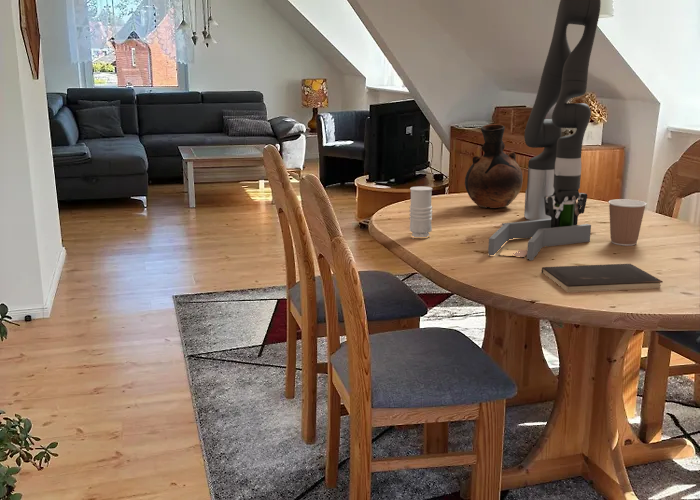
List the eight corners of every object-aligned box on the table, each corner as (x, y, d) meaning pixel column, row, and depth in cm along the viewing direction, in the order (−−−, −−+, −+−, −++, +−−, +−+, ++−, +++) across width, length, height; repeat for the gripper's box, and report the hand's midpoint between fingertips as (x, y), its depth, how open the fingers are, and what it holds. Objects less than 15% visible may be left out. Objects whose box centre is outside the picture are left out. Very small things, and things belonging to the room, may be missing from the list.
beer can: (564, 241, 208) (566, 201, 205) (549, 238, 213) (552, 198, 210) (576, 239, 211) (579, 199, 208) (561, 235, 216) (564, 196, 212)
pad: (504, 249, 200) (504, 248, 200) (529, 252, 197) (529, 250, 197) (498, 255, 194) (498, 254, 194) (524, 258, 191) (524, 256, 191)
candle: (434, 235, 218) (435, 187, 214) (427, 240, 212) (428, 190, 208) (413, 233, 221) (414, 185, 217) (405, 238, 215) (406, 189, 211)
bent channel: (461, 244, 207) (462, 227, 206) (564, 232, 219) (565, 217, 218) (505, 263, 186) (506, 245, 185) (615, 250, 198) (617, 232, 197)
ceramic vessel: (513, 202, 268) (517, 122, 260) (528, 211, 251) (533, 126, 243) (458, 203, 266) (461, 123, 258) (470, 213, 249) (473, 127, 241)
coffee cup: (641, 239, 209) (645, 200, 206) (643, 248, 200) (647, 206, 197) (604, 237, 213) (608, 198, 210) (605, 245, 203) (608, 204, 200)
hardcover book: (661, 290, 165) (662, 281, 164) (566, 294, 163) (567, 285, 162) (628, 271, 180) (629, 262, 180) (541, 275, 178) (541, 266, 177)
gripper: (579, 169, 213) (575, 224, 217) (539, 172, 208) (535, 228, 212) (596, 173, 206) (591, 229, 210) (554, 176, 201) (551, 233, 205)
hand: (563, 228), depth 211 cm, fingers open, 5 cm apart
